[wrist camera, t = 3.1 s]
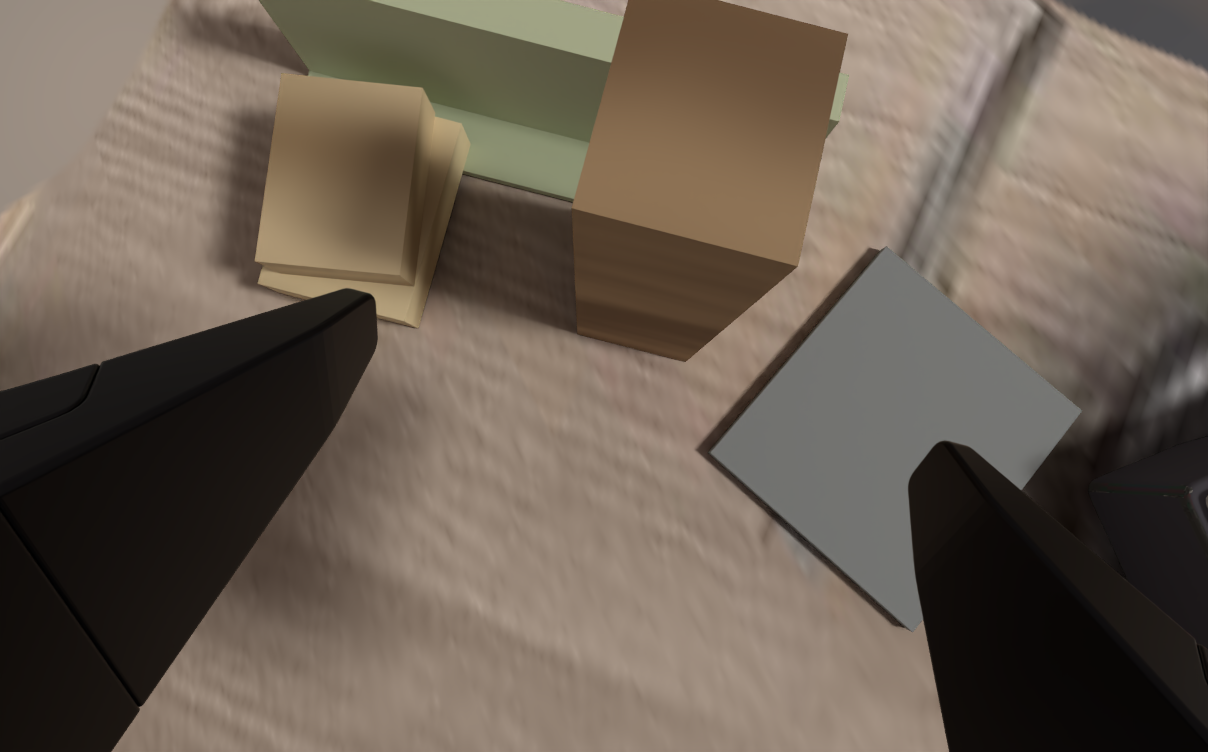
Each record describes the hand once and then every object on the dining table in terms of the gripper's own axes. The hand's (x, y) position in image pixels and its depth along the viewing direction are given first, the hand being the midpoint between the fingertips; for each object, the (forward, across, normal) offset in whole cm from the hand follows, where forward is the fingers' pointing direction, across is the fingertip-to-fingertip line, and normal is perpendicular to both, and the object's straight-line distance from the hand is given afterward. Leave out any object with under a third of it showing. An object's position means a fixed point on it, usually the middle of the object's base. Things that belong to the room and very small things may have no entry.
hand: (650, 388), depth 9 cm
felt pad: (+10, -10, +7) cm, 15 cm away
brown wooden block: (+12, 0, +5) cm, 12 cm away
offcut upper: (+11, +10, +3) cm, 15 cm away
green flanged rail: (+15, +5, +1) cm, 16 cm away
